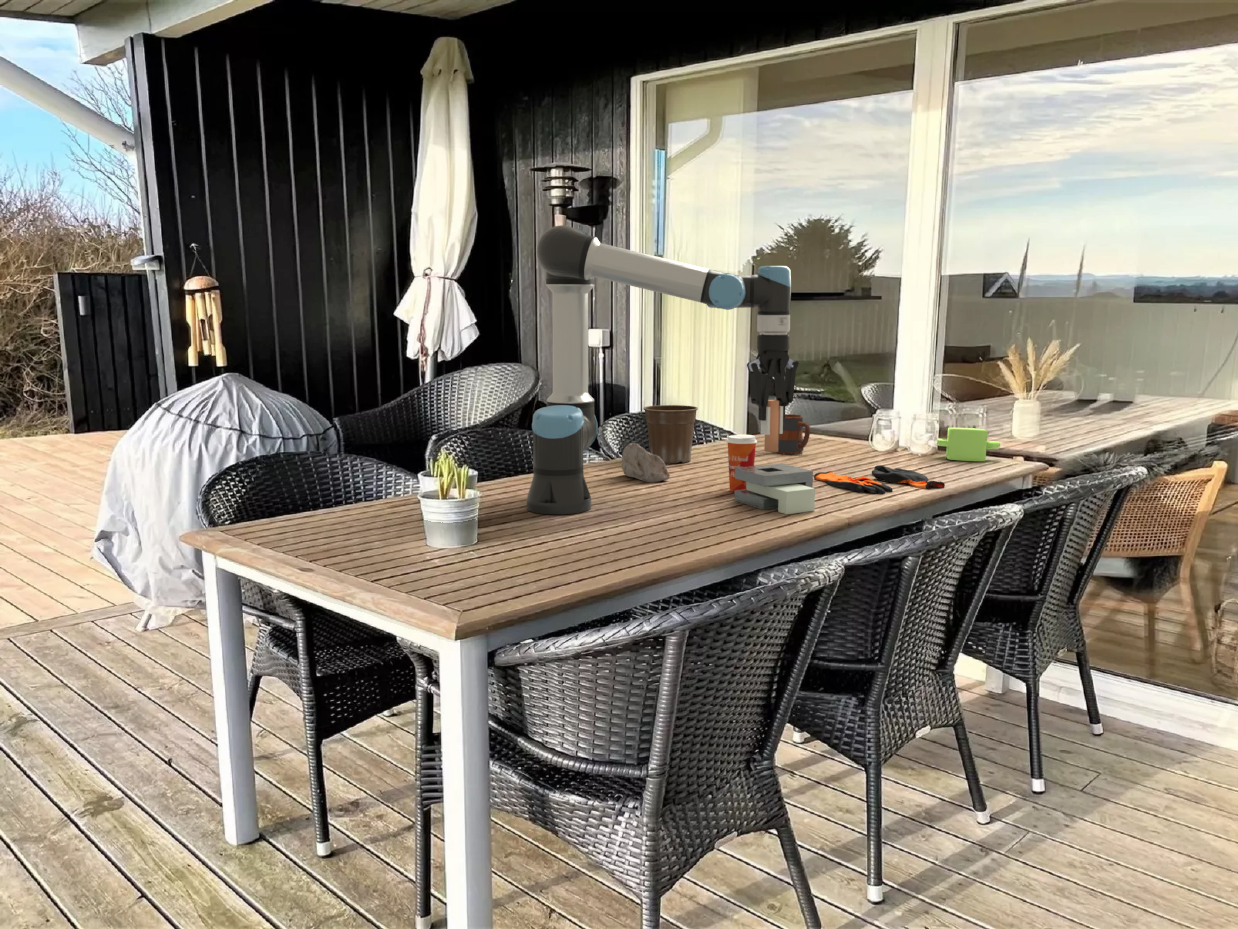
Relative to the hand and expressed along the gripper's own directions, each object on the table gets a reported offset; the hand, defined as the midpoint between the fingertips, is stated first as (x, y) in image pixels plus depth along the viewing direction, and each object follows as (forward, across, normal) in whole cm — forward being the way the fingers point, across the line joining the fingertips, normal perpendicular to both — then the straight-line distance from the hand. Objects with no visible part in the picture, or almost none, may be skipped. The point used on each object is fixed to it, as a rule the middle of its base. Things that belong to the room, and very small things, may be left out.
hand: (771, 433), depth 233 cm
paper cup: (+17, +2, +15) cm, 23 cm away
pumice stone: (+17, -12, +41) cm, 46 cm away
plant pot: (+17, +9, +63) cm, 66 cm away
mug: (+17, +50, +57) cm, 78 cm away
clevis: (+17, 0, 0) cm, 17 cm away
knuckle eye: (+17, 0, -4) cm, 17 cm away
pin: (+4, 0, 0) cm, 4 cm away
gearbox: (+17, +90, +24) cm, 95 cm away
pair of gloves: (+18, +40, +7) cm, 44 cm away
